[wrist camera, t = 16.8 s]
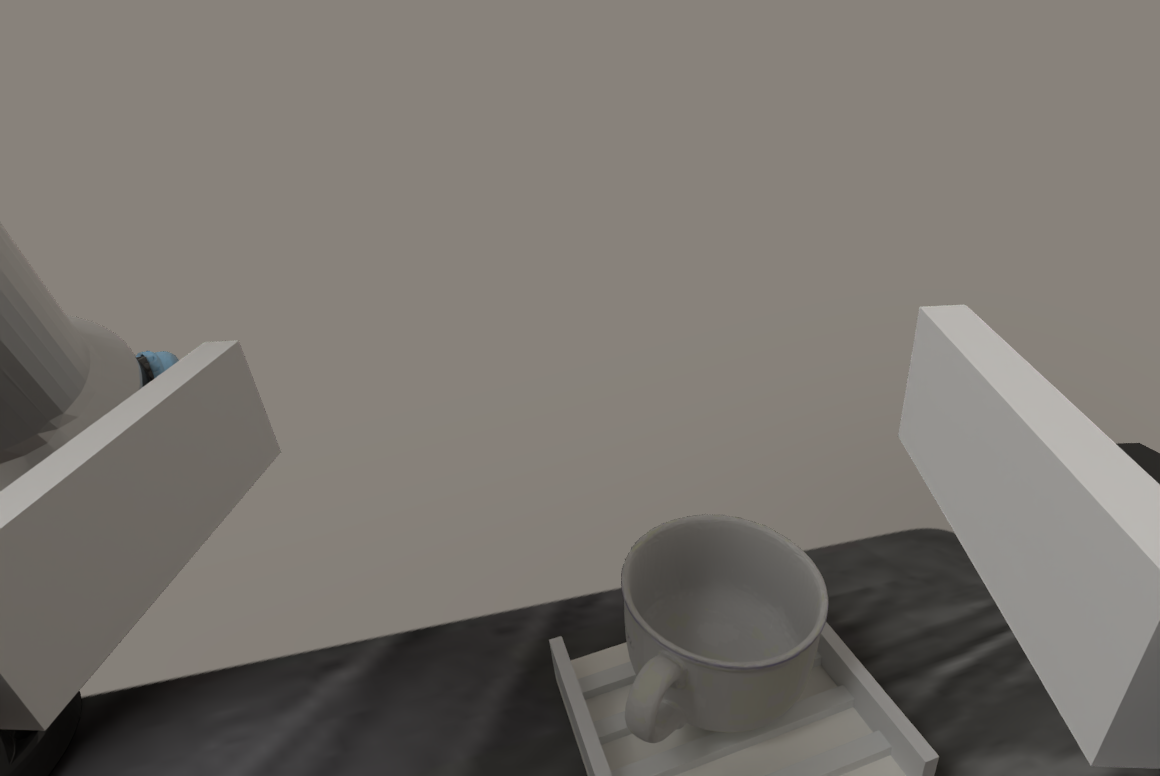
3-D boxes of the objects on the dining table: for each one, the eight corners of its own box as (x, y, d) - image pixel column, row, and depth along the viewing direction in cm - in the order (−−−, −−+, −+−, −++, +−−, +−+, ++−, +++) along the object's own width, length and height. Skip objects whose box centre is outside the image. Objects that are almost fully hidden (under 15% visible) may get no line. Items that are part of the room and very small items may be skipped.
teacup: (705, 580, 46) (704, 488, 42) (854, 673, 38) (869, 571, 35) (552, 712, 38) (534, 613, 34) (701, 860, 31) (699, 755, 27)
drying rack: (636, 924, 30) (631, 884, 29) (555, 678, 42) (549, 639, 41) (928, 799, 34) (939, 756, 32) (777, 604, 46) (779, 565, 44)
